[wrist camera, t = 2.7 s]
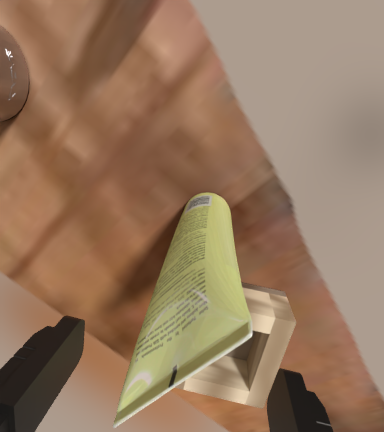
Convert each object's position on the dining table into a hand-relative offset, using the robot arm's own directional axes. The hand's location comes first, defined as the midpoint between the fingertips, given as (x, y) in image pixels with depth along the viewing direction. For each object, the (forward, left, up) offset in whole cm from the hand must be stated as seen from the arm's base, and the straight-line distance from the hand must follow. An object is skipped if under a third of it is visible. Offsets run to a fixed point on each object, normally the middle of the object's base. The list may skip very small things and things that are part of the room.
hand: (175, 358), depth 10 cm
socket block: (+5, -13, -18) cm, 23 cm away
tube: (0, 0, -19) cm, 19 cm away
